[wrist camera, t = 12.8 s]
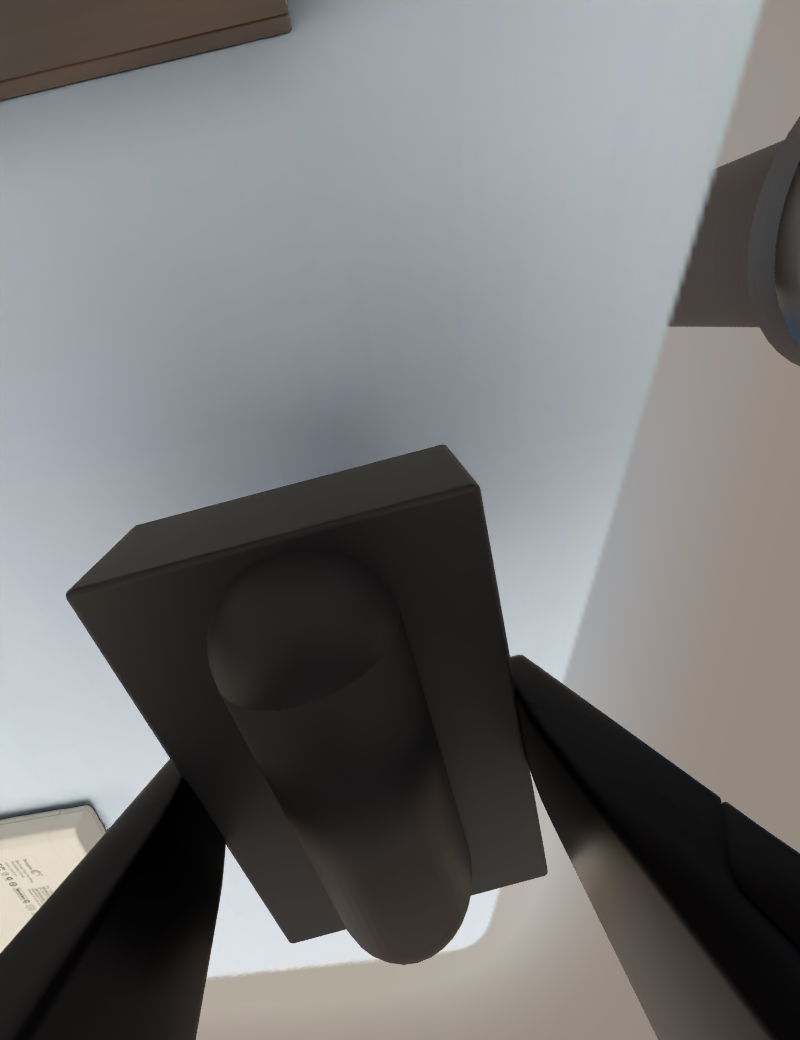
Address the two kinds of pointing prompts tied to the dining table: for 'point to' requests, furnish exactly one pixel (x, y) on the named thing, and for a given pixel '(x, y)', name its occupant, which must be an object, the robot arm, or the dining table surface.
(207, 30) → the cabinet
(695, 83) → the dining table surface
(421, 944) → the raised capsule plate
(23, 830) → the hard drive
